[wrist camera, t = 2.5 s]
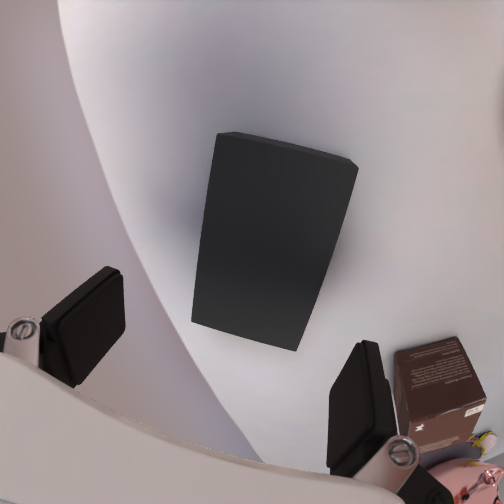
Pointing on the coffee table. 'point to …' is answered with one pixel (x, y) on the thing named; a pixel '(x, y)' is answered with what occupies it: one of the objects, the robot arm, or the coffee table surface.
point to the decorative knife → (483, 442)
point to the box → (437, 395)
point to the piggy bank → (470, 480)
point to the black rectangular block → (268, 236)
